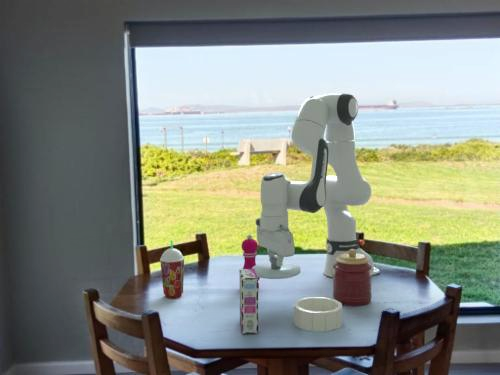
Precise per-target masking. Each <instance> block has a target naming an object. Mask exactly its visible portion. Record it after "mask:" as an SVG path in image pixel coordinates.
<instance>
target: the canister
mask: <svg viewBox="0 0 500 375" xmlns="http://www.w3.org/2000/svg"><path fill="white" fill-rule="evenodd" d="M335 260H336V263H334V264H333V268H334V274H333V277H332V281H333V282H332V283H333V284H332V285H333V286H332V299H335V300H337V301H339V302H341V304H342V306H343V305H344V306H351V307H352V306H353V307H356V306H357V307H358V306H359V305H360V306H364V305H368V304H370V303H371V300H372V298H373V297H372V278H373V277H372V276H373V275H371V274H370V270H371V269H372V266H371V265H370V264H369V263H368V262H369V259H368V258H367V257H365V256H364V255H362V254H358V253H356V251H355V250H354V249H350V250H349V252H348V253H344V254H341V255H339V256H338V257H336V258H335Z"/></svg>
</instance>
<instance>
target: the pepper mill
mask: <svg viewBox="0 0 500 375" xmlns="http://www.w3.org/2000/svg"><path fill="white" fill-rule="evenodd" d="M252 236H253V235H251V234H248V235H247V236H246V239H244V240H243V241H242V243H241V249H242V251H243V252H242V254H243V255H242V257H243V258H244V263H243V267H242V269H252V267H253V266H255V265H257V262H256V258H257V253H258V252H257V250H258V248H259V244H258V241H257V239H254V238H253V237H252ZM260 279H261V278H260V277H258V290H259V289H260V283H259V281H260Z"/></svg>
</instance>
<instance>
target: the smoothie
mask: <svg viewBox="0 0 500 375" xmlns="http://www.w3.org/2000/svg"><path fill="white" fill-rule="evenodd" d="M159 260H160V261H159V262H160V269H161V270H160V272H161V280H162V291H163V295H164V297H165V298H166V299H170V300H171V299H172V300H174V299H179V298H181V297H182V295H183V293H184V279H185V278H184V276H185V273H184V272H185V270H184V269H185V257H184V256H183V254H182V252H181V250H179V249H177V248H174V247H173V240H170V248H167V249H165V250H164V252H163V253H162V254H161V256H160V258H159Z"/></svg>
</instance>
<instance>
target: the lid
mask: <svg viewBox="0 0 500 375" xmlns="http://www.w3.org/2000/svg"><path fill="white" fill-rule="evenodd" d="M277 257H278V256H277V255H275V256H274V257H271V262H270V261H268V262H262V263H258V264H256V265H255V266H253V267H252V269H255V272H256V274H257V277H260V279H267V280H268V279H269V280H280V279H281V280H284V279H291V278H293V277H296V276H298V275H300V273H301V267H300V266H299V265H298V264H296V263H294V262H289V261H288V262H287V261H283V265H282V266H277V265H276V260H277Z"/></svg>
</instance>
